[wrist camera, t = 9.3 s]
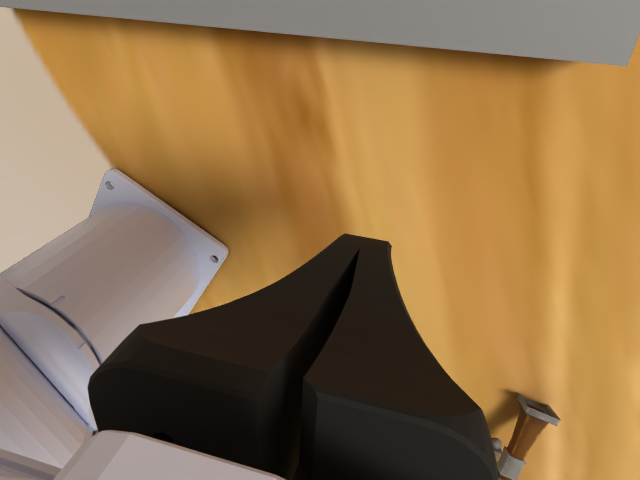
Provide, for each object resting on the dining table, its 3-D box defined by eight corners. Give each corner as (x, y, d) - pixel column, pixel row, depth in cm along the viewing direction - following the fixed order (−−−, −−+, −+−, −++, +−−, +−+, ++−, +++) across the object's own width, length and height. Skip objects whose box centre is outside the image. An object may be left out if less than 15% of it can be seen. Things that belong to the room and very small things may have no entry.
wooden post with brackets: (452, 480, 29) (466, 534, 24) (504, 373, 28) (529, 408, 23) (478, 492, 29) (497, 548, 24) (532, 384, 28) (563, 422, 23)
